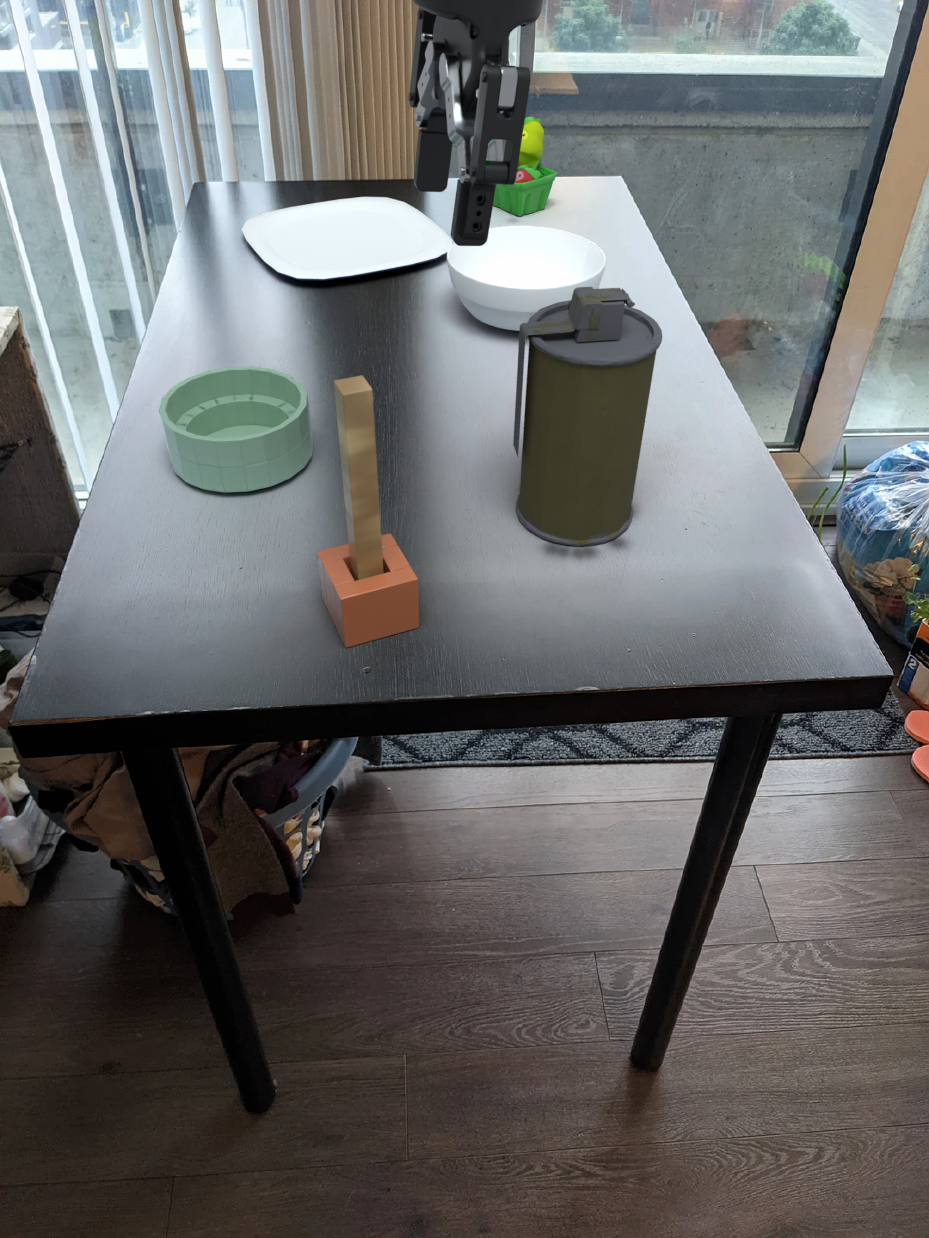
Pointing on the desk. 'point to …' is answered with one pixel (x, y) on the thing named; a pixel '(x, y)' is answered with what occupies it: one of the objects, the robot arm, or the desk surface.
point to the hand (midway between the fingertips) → (448, 215)
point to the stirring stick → (359, 475)
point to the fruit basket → (527, 175)
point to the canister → (583, 414)
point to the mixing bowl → (237, 428)
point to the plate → (345, 238)
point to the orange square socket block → (369, 595)
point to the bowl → (522, 272)
